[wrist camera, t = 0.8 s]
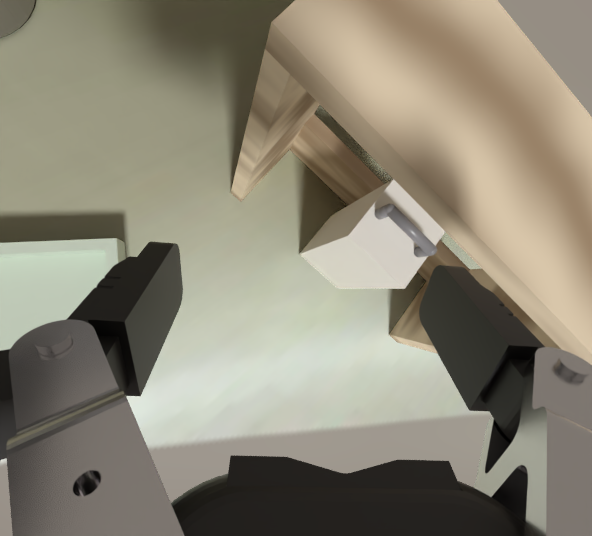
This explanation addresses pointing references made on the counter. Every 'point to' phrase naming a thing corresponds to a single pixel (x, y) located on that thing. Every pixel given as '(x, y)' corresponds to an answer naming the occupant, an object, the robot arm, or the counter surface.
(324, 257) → the caddy
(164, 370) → the counter surface
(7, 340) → the tray
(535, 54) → the frame
